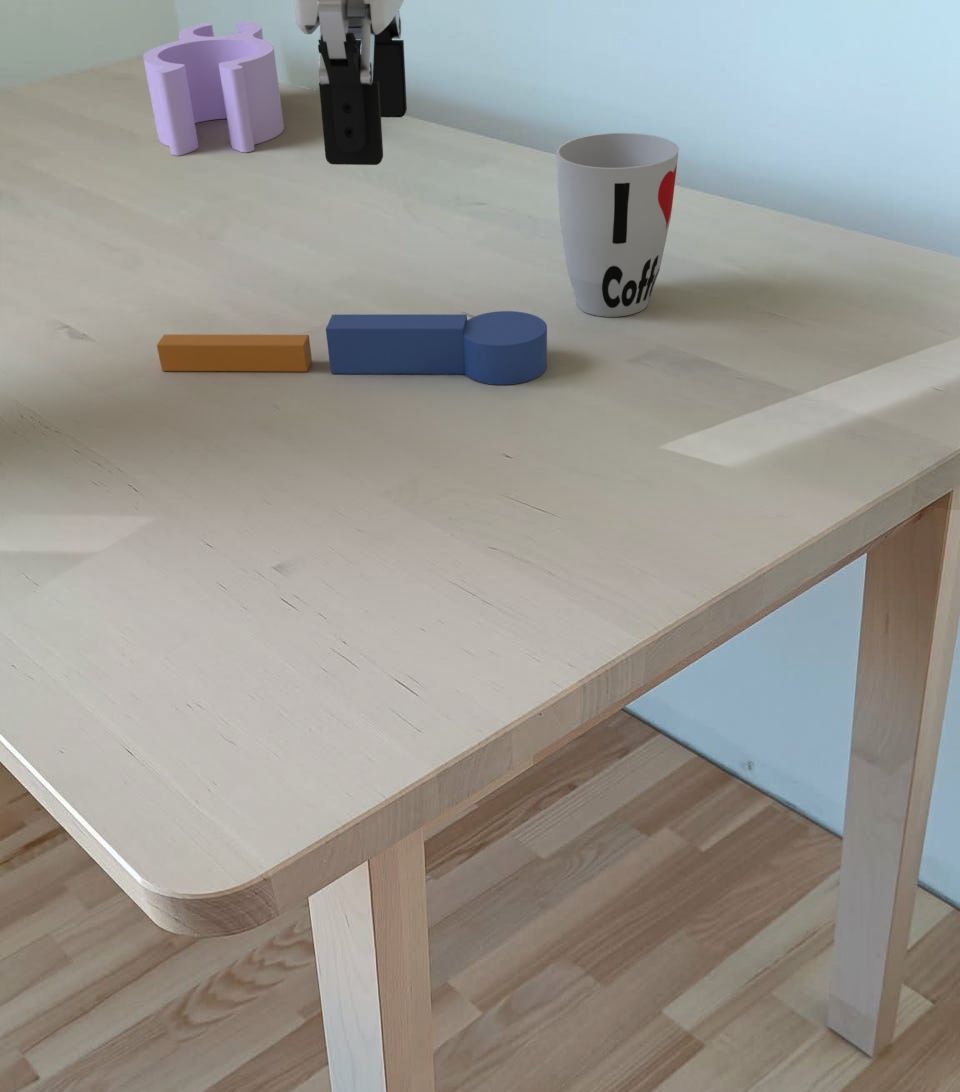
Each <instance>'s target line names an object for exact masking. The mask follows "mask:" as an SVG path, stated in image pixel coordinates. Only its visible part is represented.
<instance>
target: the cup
mask: <svg viewBox="0 0 960 1092" xmlns="http://www.w3.org/2000/svg"><path fill="white" fill-rule="evenodd" d="M679 151H680V148H679V146H678V144H676V143H675V142H674V141H672V140H669V139H668V138H665V137H661V136H657V135H652V134H646V133H636V132H609V133H608V132H606V133H597V134H590V135H585V136H581V137H576V138H573V139H570V140H568V141H566V142H563V143H562V144H560V145H559V146H558V147H557V148H556V151H555V155H556V156H555V159H556V176H557V196H558V217H559V225H560V232H561V237H562V243H563V245H562V246H563V250H564V259H565V264H566V270H567V274H568V277H569V281H570V284H571V288H572V291H573V294H574V298H575V302H576V305H577V307H578V309H579V310H580V311H582V312H584V313H586V314H589V315H592V316H597V317H606V318H617V317H625V316H631V315H634V314H637V313H640V312H642V311H643V310H645V309H646V308H647V306H648V304H649V301H650V298H651V295H652V293H653V290H654V286H655V284H656V281H657V278H658V275H659V272H660V270H661V265H662V261H663V257H664V251H665V247H666V242H667V237H668V232H669V228H670V224H671V218H672V210H673V203H674V194H675V186H676V177H677V168H678V160H679Z"/></svg>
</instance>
